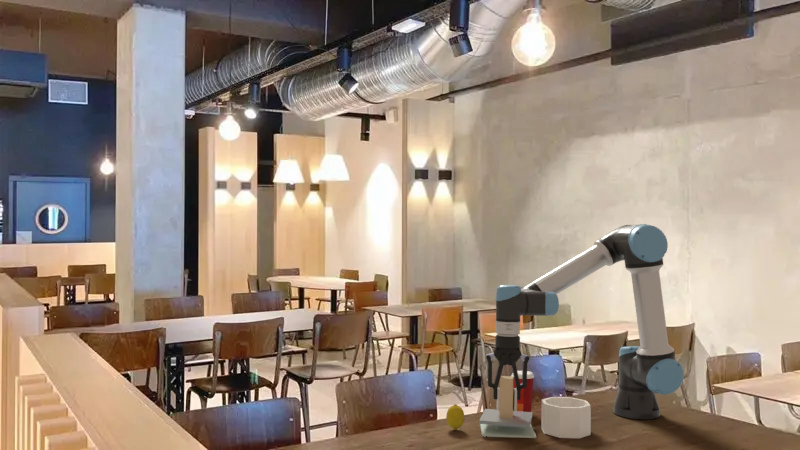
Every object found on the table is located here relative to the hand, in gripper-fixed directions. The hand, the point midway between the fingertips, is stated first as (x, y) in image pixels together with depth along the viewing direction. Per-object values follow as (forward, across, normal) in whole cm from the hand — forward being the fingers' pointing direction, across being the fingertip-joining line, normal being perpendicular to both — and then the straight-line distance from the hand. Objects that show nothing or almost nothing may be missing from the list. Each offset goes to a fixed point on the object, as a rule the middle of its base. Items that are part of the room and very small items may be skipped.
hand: (506, 409), depth 216 cm
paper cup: (+6, +7, +20) cm, 22 cm away
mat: (+6, 0, 0) cm, 6 cm away
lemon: (+6, -16, -2) cm, 17 cm away
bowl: (+6, +18, 0) cm, 19 cm away
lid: (+3, 0, -1) cm, 3 cm away
